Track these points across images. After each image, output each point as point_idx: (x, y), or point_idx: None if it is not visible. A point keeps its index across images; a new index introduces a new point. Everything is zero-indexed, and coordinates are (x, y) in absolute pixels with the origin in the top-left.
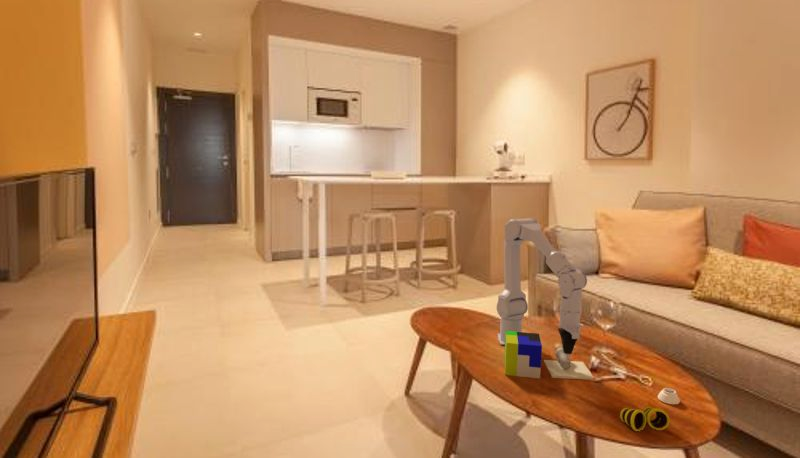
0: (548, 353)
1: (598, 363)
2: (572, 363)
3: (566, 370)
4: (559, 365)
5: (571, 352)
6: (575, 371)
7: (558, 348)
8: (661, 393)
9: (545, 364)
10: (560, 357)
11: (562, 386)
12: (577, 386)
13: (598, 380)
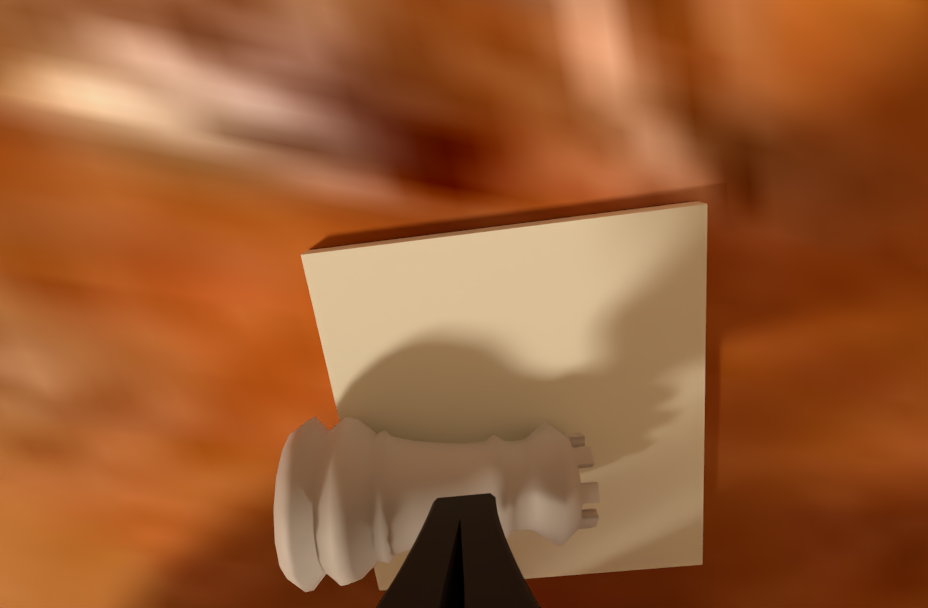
0: (174, 523)
1: (236, 62)
2: (384, 367)
3: None
4: None
5: (494, 509)
6: (577, 366)
7: (309, 587)
8: None
9: None
10: None
11: (855, 495)
12: (853, 381)
13: (706, 156)
